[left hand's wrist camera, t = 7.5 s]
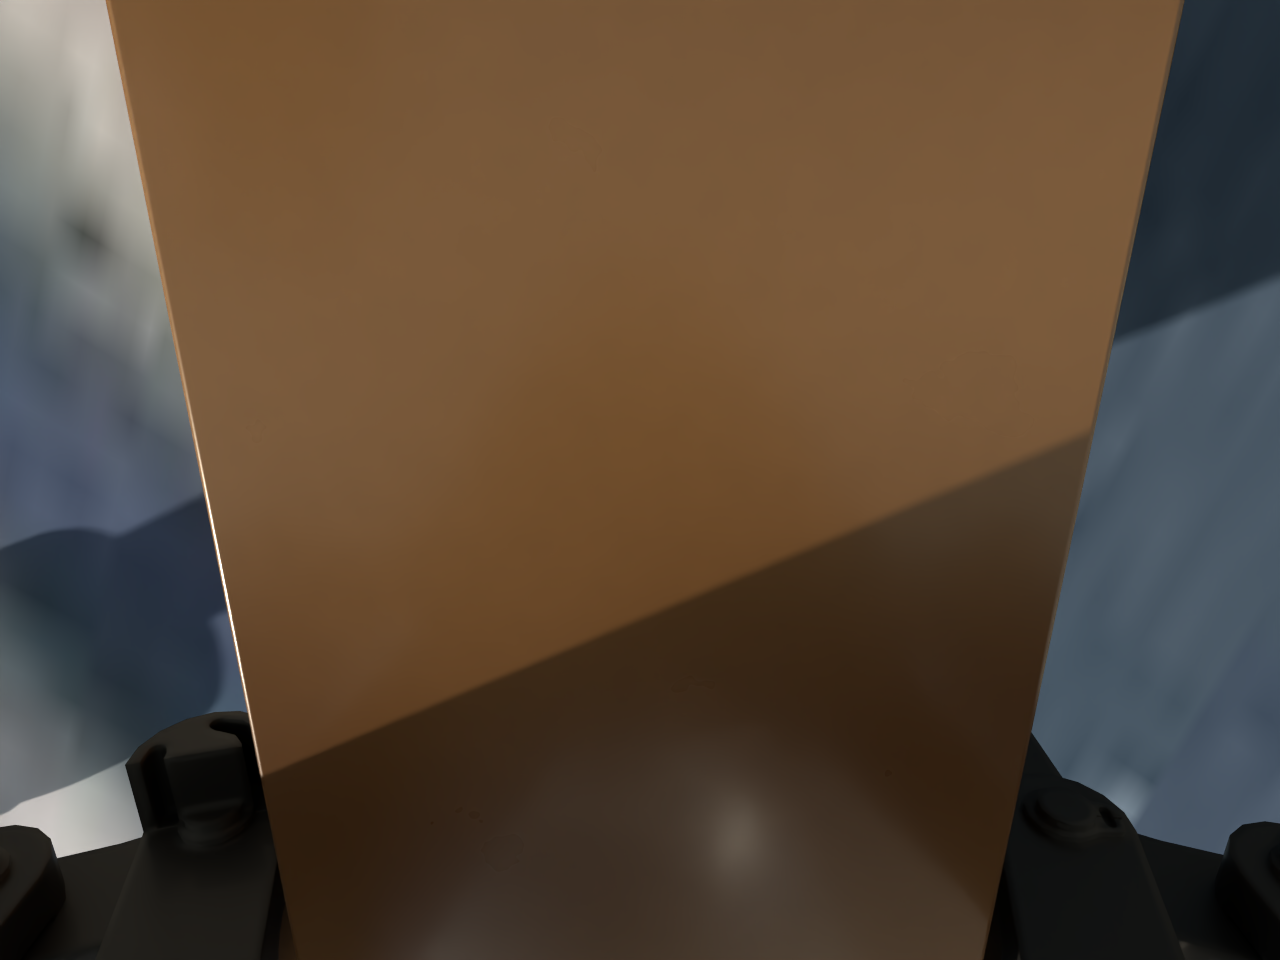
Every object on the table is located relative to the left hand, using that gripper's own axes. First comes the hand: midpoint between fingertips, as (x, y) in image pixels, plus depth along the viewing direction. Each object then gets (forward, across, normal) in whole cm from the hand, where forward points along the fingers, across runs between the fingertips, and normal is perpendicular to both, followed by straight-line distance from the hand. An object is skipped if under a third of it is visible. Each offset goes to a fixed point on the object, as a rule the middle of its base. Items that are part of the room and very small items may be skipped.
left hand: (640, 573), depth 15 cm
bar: (+1, 0, -10) cm, 10 cm away
